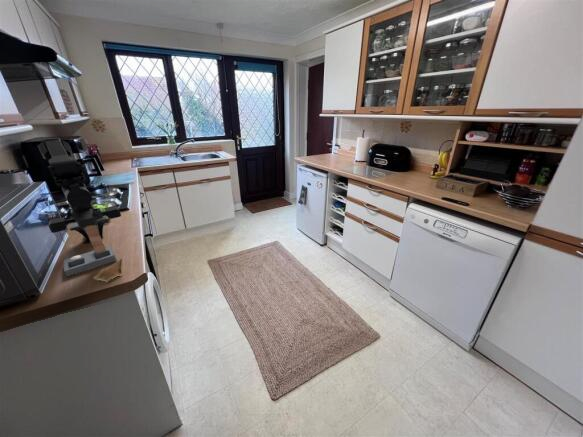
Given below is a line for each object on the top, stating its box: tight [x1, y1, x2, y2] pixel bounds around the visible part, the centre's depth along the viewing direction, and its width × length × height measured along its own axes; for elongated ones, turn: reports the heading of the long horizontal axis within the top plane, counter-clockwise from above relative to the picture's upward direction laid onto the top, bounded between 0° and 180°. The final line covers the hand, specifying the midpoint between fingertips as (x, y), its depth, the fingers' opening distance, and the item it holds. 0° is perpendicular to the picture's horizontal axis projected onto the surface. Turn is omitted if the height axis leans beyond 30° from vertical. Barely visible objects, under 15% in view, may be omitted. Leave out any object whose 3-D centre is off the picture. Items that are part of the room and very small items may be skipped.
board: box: [63, 241, 117, 277], centre depth 86 cm, size 9×14×6 cm, turn 131°
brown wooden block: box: [85, 225, 105, 249], centre depth 84 cm, size 3×3×8 cm
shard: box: [93, 258, 123, 282], centre depth 82 cm, size 11×8×2 cm
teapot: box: [93, 202, 110, 220], centre depth 119 cm, size 11×12×8 cm
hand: (96, 239), depth 85 cm, fingers closed on brown wooden block, 3 cm apart
